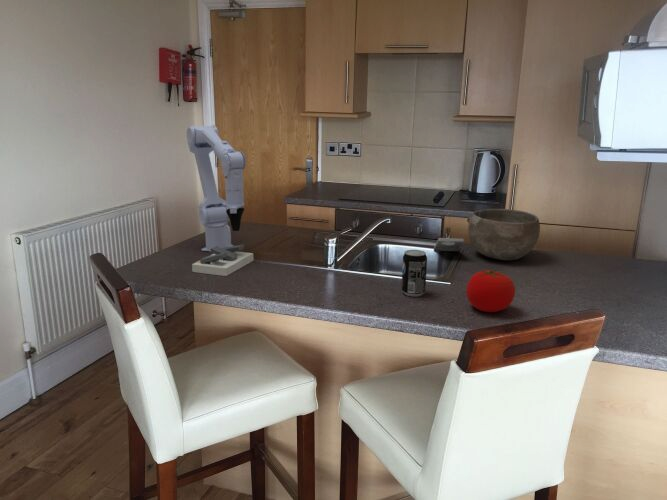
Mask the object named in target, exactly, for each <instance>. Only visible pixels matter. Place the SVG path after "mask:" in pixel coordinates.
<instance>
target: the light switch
mask: <svg viewBox="0 0 667 500" xmlns="http://www.w3.org/2000/svg"><path fill="white" fill-rule="evenodd" d="M464 242H465V239H464V238H453V237H439V238H438V239H437V240H436V242H435V245H434V247H433V251H434V252H435V251H436V252H459V250H460V248H461V247H462V245H463V244H464Z"/></svg>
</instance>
